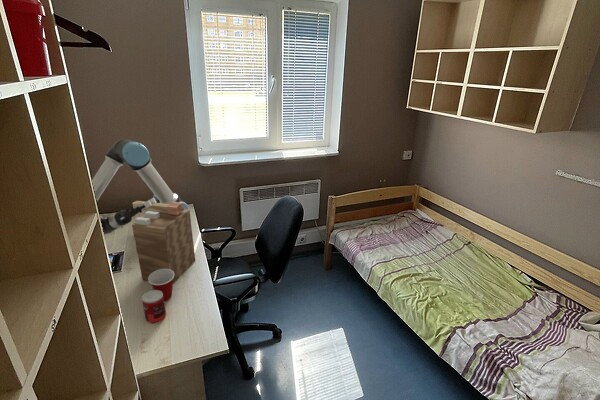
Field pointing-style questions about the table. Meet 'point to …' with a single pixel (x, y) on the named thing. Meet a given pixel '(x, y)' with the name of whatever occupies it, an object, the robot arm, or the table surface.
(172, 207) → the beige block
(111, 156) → the robot arm
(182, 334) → the table surface
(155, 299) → the canned food
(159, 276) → the plastic cup
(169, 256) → the wooden tower
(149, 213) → the twin white cubes
